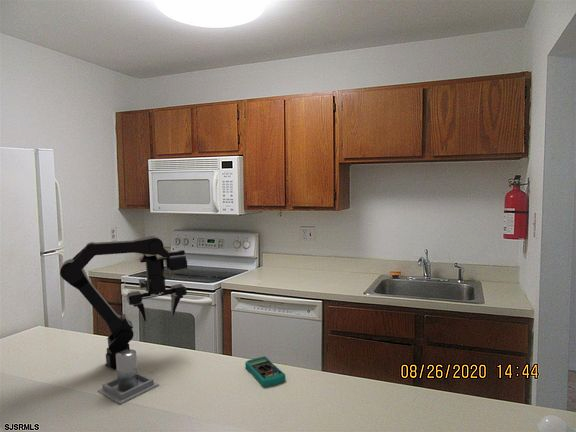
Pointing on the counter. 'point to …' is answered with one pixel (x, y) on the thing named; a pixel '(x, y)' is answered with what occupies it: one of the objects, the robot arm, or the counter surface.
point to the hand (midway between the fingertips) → (159, 318)
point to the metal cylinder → (127, 370)
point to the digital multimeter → (265, 371)
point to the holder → (120, 397)
